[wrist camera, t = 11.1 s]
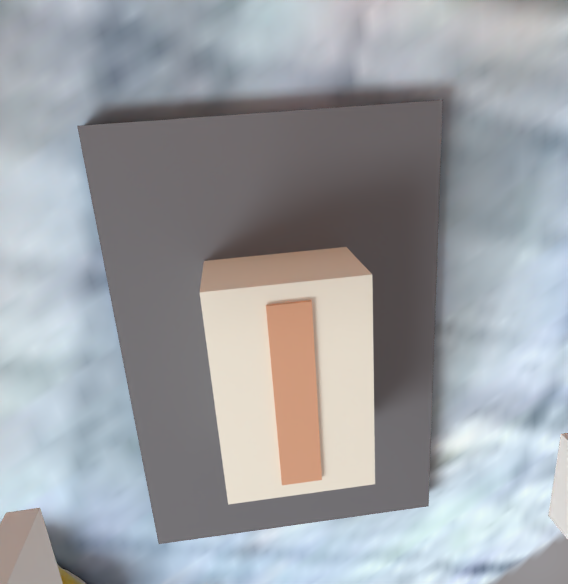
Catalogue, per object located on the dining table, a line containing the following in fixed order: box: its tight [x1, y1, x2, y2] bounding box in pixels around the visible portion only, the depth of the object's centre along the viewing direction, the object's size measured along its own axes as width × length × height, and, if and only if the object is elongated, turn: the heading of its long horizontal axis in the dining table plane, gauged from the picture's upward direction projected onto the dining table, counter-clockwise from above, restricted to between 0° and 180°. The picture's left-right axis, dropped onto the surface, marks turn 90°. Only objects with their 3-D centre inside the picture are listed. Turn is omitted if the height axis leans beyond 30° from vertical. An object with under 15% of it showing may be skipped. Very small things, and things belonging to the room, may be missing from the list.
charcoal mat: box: [78, 100, 443, 544], centre depth 23 cm, size 20×14×1 cm
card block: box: [199, 247, 375, 505], centre depth 21 cm, size 6×9×4 cm, turn 4°
